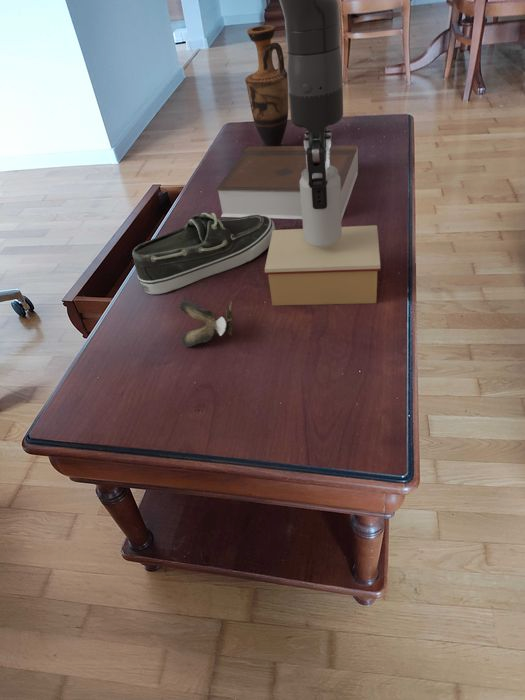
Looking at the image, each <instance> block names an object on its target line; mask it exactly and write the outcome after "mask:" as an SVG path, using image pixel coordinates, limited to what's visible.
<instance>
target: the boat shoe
mask: <svg viewBox="0 0 525 700" xmlns="http://www.w3.org/2000/svg"><path fill="white" fill-rule="evenodd" d="M273 230H277V229H276V226H275V222H274V221H273V220H272V218H269V217H267V216H260V215H250V216H246V217H233V218H221V219H219V218H218V217H217V215H216V212H211V213H208V212H201V213H200V214H194V215H192V216H191V218H189V219H188V221H187V223H186V225H185V226H183V227H181V228H179V229H176V230H173V231H171V232H167V233H165V234H163V235H160V236H157V237H155V238H152V239H150V240H147V241H145V242H142V243H140V244H138V245H137V246H135V247H134V248H133V249H132V253H131V255H132V258H133V263H134V268H135V270H136V273H137V278H138V282H139V284H140V286H141V288H142V289H143V291H144V292H145V293H146V294H149V295H160V294H166V293H169V292H171V291H174V290H178V289H181V288H182V287H186V286H188V285H190V284H193V283H195V282H198V281H200V280H202V279H206V278H208V277H210V276H214V275H216V274H220V273H222V272H225V271H229V270H232V269H234V268H237V267H239V266H241V265H244V264H246V263H248V262H251V261H252V260H254V259H256V258H257V257H258V256H260V255H261V254H262V253H264V252H265V251H266V250H267V249H269V246H270V241H271V236H272V232H273Z"/></svg>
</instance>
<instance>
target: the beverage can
mask: <svg viewBox="0 0 525 700" xmlns="http://www.w3.org/2000/svg"><path fill="white" fill-rule="evenodd" d="M301 176H302V177H301V179H300V195H301V208H302V219H301V221H302V229H303V234H304V240H305V241H306V242H307V243H309V244H311V245H312V246H315V247H329V246H331V245H333V244H335V243H336V242H337V241H338V240H339V239H340V238H341V235H342V229H341V227H342V220H341V183H340V176H339V175H338V170H337V168H336V167H334V166H331V165H330V168H329V169H328V170H327V180H328V183H327V186H326V188H327V207H326V208H325V209H314V208H313V203H312V188H310V187H309V185H308V182H309V174H308V169H307V168H306V169H304V170H303V171H302V173H301ZM314 178H322V173H314Z"/></svg>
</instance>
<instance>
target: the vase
mask: <svg viewBox="0 0 525 700" xmlns="http://www.w3.org/2000/svg"><path fill="white" fill-rule="evenodd" d="M275 32H276V26H275V25H271V24H265V25H264V24H263V25H257V26H253V27H250V28H249V29H247V31H246V33H247V35H248V38H249V39H250V41H251V42H253V43H254V45H255V48H256V52H257V62H258V66H257V70H256V71H255V72H253V73H251V74H249V75H248V76H246V77H245V81H244V82H245V85H246V90H247V94H248V100H249V105H250V109H251V115H252V118H253V119H252V120H253V122H254V125H255V129H256V131H257V133H258V134H259V137H260V138H261V140H262V142H263V144H264V145H263V146H262V147H267V146H289V145H288V144H285V143H284V144H281V143H283V139H284V136H285V132H286V129H287V126H288V120H289V119H288V118H289V90H288V78H287V70H286V69H285V58H284V52H283V48H282V46H281V45H280V43H279V42H272V39H273V37H274V35H275ZM274 50H275V51H276V56H277V61H278V62H277V68H275V66H274V63H273V51H274Z"/></svg>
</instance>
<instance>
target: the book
mask: <svg viewBox="0 0 525 700" xmlns="http://www.w3.org/2000/svg"><path fill="white" fill-rule="evenodd" d="M359 149H360V147H359V145H357V144H354V145H353V144H352V145H331V154H330V165H331V166H334V167H336V168H337V170H338V175H339V176H340V183H341V221H342V220H343V218H344V214H345V212H346V209H347V206H348V203H349V200H350V198H351V196H352V192H353V188H354V186H355V183H356V180H357V177H358V174H359V170H360V169H359V162H360V161H359V160H360V159H359V156H360V155H359ZM304 169H306V150H305V149H304V145H288V146H267V147H263V146H247V147H246V148H245V150H244V152H243V153H242V154H241V155H240V157H239V158H238V160H237V161H236V162H235V163H234V165H233V166H232V167H231V169H230V170H229V171H228V172H227V174H226V175H225V176H224V178H223V179H222V180H221V182H220V183H219V185H218V186H217V187H216V188H215V191H217V194H218V196H219V203H220V209H221V216H220V217H221V218H239V217H246V216H250V215H260V216H267V217H269V218H270V219H282V220H285V219H286V220H302V208H301V195H300V179H301V177H302V176H301V173H302V171H303V170H304Z"/></svg>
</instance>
